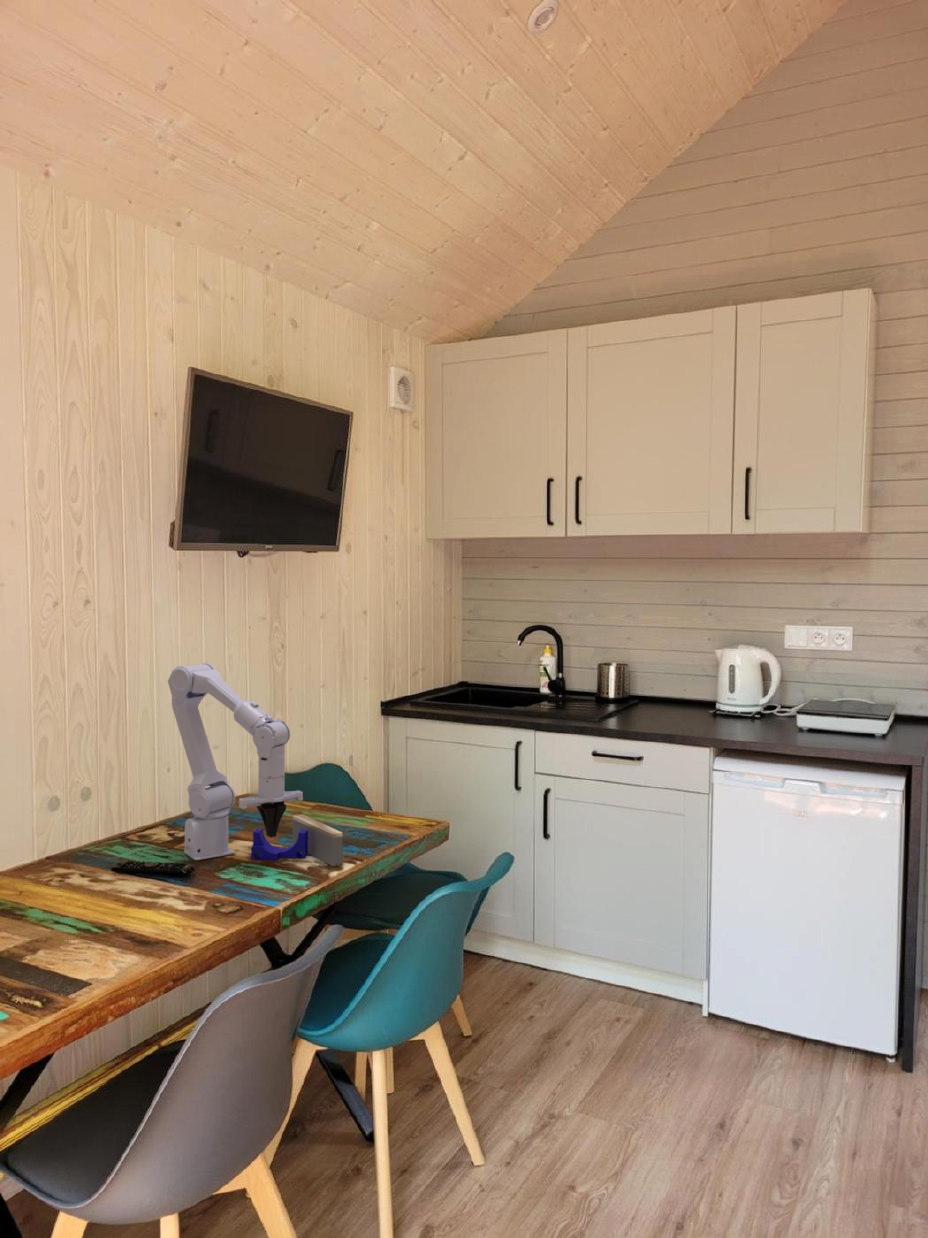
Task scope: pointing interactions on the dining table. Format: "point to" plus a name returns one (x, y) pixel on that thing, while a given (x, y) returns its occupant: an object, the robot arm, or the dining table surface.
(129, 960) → the dining table surface
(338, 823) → the dining table surface
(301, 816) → the wall board
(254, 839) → the blue half-round bracket
